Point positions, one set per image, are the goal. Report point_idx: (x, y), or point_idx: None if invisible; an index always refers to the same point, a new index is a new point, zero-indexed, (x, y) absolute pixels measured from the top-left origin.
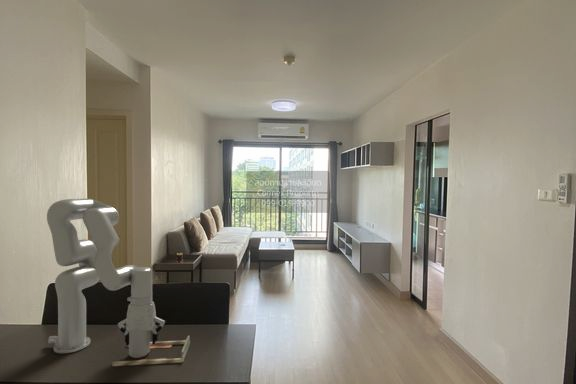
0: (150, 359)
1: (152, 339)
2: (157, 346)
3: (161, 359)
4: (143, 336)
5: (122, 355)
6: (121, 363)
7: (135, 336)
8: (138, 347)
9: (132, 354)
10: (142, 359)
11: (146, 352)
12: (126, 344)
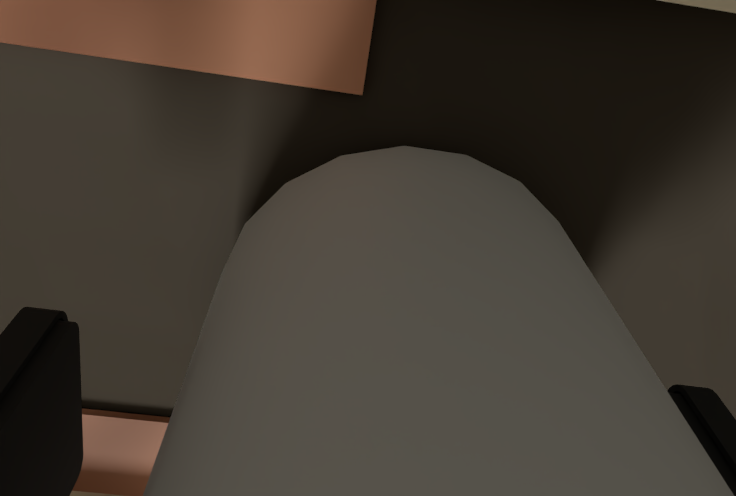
0: (145, 43)
1: (17, 400)
2: (144, 457)
3: None
4: (250, 459)
5: (670, 322)
6: None
7: (574, 463)
8: (407, 231)
9: (519, 194)
10: (307, 82)
11: (249, 227)
12: (714, 402)
